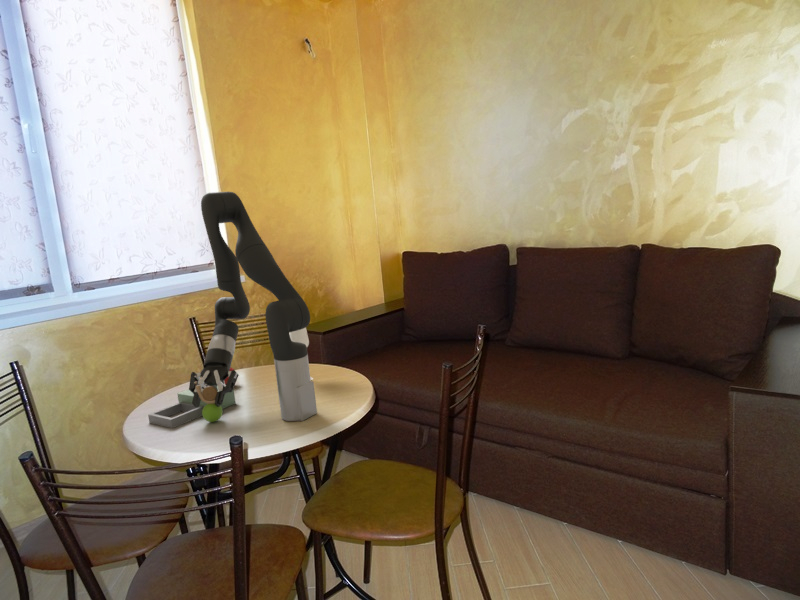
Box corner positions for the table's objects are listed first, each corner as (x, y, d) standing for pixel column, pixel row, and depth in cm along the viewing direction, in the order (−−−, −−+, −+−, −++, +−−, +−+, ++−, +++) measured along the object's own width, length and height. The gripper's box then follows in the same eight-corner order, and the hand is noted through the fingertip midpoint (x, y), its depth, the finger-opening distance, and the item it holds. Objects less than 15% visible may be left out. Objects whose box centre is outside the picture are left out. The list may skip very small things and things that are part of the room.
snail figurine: (206, 418, 149) (199, 378, 147) (227, 416, 149) (220, 377, 147) (196, 425, 144) (189, 384, 142) (218, 424, 143) (211, 383, 141)
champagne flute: (298, 377, 183) (290, 310, 179) (316, 376, 182) (308, 310, 178) (290, 383, 176) (282, 314, 173) (309, 382, 175) (300, 313, 171)
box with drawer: (235, 403, 161) (232, 378, 159) (175, 429, 143) (171, 401, 142) (206, 398, 168) (203, 374, 167) (146, 422, 151) (142, 395, 150)
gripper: (191, 348, 151) (175, 401, 142) (237, 345, 149) (224, 399, 140) (203, 360, 157) (189, 412, 148) (248, 358, 155) (236, 410, 146)
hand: (206, 405), depth 144 cm, fingers closed on snail figurine, 6 cm apart
